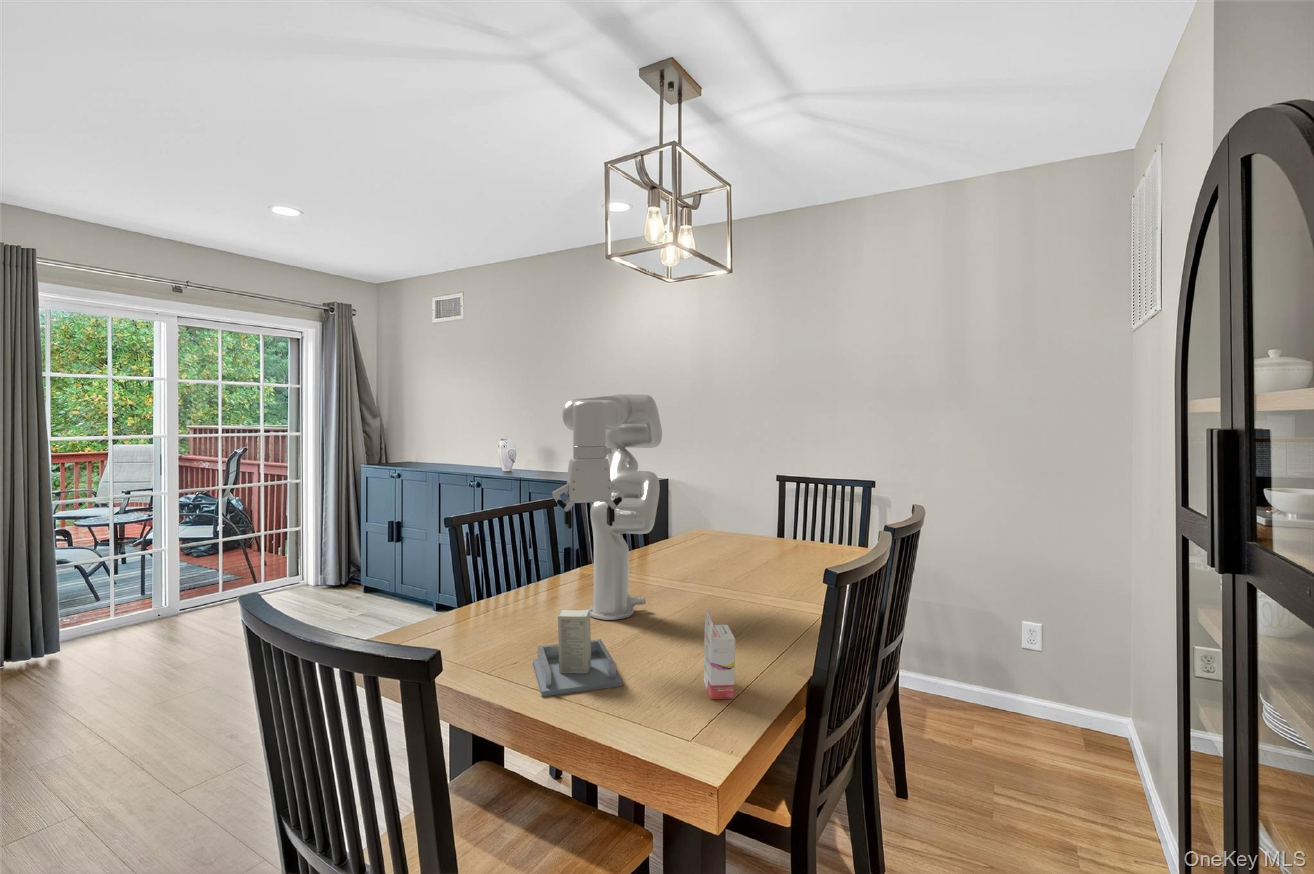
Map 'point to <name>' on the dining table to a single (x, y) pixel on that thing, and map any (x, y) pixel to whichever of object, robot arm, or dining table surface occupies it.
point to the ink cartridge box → (719, 660)
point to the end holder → (562, 683)
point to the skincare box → (574, 641)
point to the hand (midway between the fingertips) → (589, 526)
